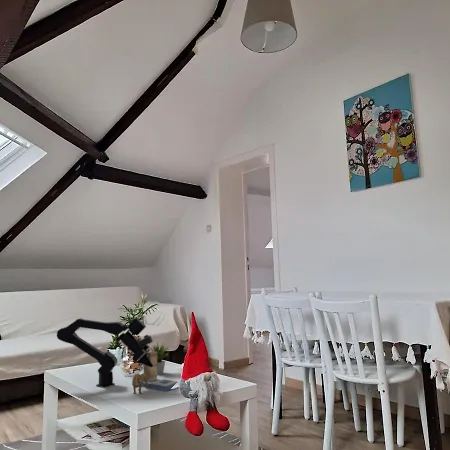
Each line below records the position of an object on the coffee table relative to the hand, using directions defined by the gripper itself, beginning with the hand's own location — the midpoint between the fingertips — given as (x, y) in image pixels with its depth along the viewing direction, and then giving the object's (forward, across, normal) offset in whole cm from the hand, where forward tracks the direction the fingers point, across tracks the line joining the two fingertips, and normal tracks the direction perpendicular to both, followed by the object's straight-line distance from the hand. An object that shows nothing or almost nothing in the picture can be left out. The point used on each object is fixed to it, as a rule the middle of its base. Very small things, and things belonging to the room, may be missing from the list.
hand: (153, 365), depth 196 cm
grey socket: (+9, -8, 0) cm, 12 cm away
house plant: (+7, +22, +6) cm, 24 cm away
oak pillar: (+4, 0, +6) cm, 7 cm away
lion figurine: (+4, -14, +9) cm, 17 cm away
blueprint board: (+8, -5, +4) cm, 11 cm away
